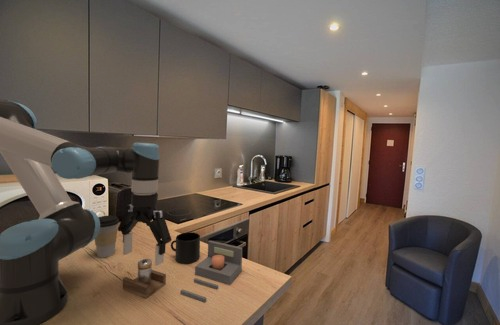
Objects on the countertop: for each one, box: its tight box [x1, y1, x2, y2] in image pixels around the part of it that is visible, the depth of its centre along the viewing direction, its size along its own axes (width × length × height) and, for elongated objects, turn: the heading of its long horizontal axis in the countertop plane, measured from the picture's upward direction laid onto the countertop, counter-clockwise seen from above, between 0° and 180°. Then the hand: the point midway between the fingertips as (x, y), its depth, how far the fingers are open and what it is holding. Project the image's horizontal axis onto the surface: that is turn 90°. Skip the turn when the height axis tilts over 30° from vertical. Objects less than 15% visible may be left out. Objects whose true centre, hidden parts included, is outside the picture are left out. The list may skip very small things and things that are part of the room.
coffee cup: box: [94, 214, 120, 258], centre depth 94 cm, size 9×9×15 cm
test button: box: [212, 255, 224, 271], centre depth 83 cm, size 4×4×4 cm
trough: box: [121, 269, 167, 299], centre depth 74 cm, size 8×10×3 cm
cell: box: [137, 258, 153, 285], centre depth 74 cm, size 4×4×8 cm
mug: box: [170, 231, 201, 264], centre depth 94 cm, size 9×12×9 cm
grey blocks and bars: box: [179, 240, 243, 303], centre depth 79 cm, size 20×14×9 cm
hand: (142, 258), depth 74 cm, fingers open, 13 cm apart
